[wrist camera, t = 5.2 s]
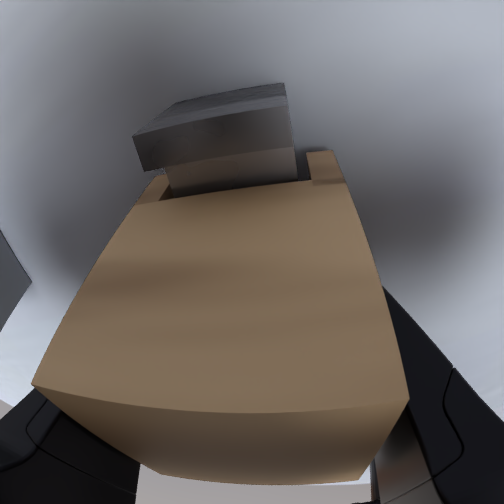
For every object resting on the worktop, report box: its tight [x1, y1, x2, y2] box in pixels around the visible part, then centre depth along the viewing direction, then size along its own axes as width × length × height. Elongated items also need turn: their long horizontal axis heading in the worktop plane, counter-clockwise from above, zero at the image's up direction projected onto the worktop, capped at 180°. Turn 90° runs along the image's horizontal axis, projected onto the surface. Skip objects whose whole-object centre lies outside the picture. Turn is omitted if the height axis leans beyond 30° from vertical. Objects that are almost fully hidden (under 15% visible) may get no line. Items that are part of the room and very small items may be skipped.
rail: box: [132, 83, 299, 198], centre depth 12 cm, size 17×3×3 cm, turn 10°
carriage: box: [31, 150, 410, 485], centre depth 7 cm, size 5×5×7 cm
